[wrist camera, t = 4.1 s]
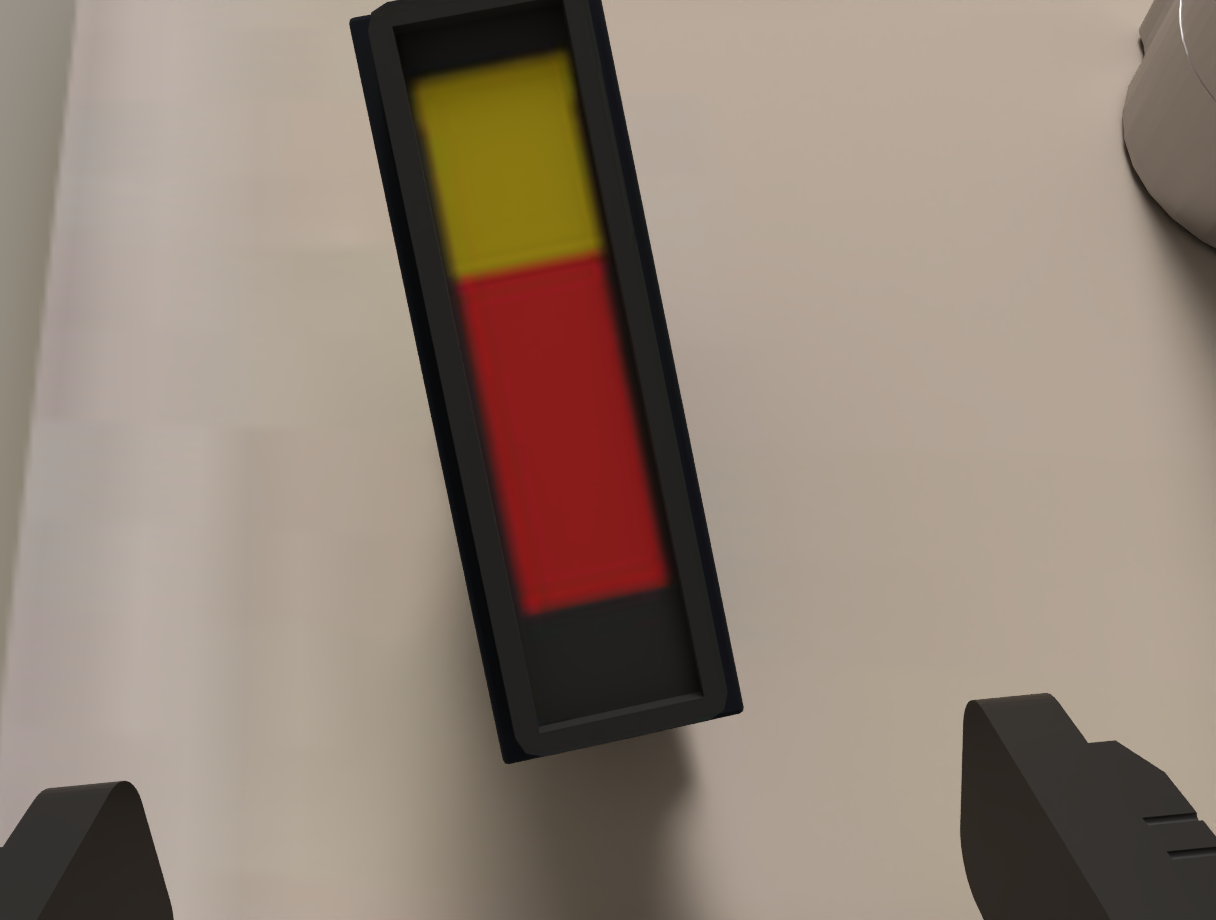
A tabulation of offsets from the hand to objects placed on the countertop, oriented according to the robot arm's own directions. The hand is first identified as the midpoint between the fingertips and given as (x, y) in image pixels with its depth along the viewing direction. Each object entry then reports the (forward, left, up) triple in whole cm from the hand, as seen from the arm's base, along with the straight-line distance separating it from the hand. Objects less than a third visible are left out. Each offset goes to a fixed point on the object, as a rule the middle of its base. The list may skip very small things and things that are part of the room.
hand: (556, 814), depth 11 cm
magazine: (-8, 0, -16) cm, 18 cm away
